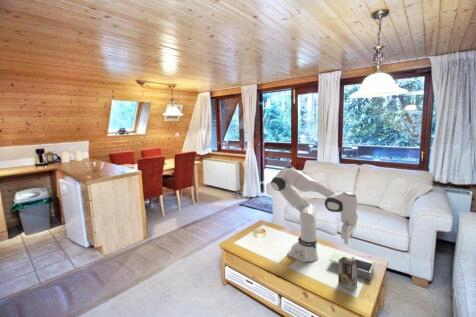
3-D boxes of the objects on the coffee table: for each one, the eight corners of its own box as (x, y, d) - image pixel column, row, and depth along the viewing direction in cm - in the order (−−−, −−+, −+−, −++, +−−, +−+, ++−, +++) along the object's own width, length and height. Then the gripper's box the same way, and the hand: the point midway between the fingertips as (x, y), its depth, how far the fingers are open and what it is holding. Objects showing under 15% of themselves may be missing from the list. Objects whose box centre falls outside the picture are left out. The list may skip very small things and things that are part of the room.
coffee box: (357, 286, 148) (358, 262, 146) (351, 291, 144) (352, 265, 142) (343, 279, 155) (343, 256, 153) (337, 283, 152) (338, 259, 150)
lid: (328, 260, 168) (329, 256, 168) (334, 252, 178) (334, 249, 178) (351, 266, 159) (351, 263, 159) (355, 258, 169) (356, 254, 169)
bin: (345, 272, 162) (345, 265, 162) (350, 264, 172) (350, 257, 171) (370, 280, 153) (370, 272, 153) (373, 271, 163) (373, 263, 162)
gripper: (349, 225, 135) (349, 249, 136) (358, 214, 151) (357, 235, 152) (338, 223, 139) (337, 246, 140) (347, 213, 154) (347, 233, 156)
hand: (348, 240), depth 146 cm, fingers open, 8 cm apart
